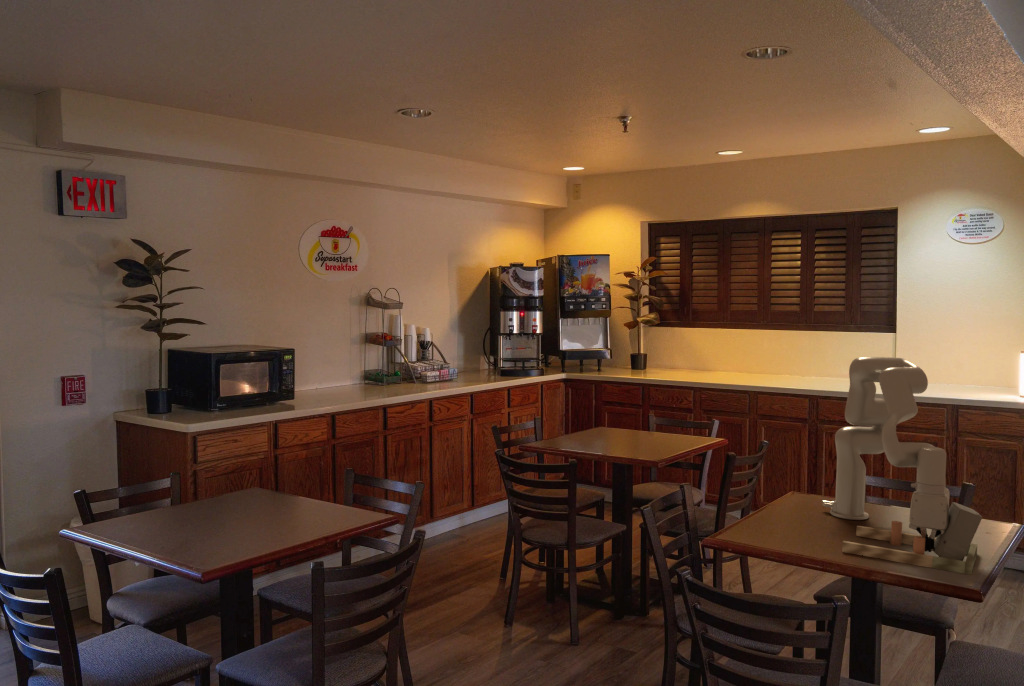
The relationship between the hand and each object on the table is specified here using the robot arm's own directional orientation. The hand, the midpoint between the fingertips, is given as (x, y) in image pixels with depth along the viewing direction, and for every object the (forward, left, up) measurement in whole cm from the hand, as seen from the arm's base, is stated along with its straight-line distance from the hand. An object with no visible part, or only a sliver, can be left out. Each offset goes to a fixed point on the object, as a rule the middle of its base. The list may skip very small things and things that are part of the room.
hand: (928, 550), depth 237 cm
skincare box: (+5, 0, -1) cm, 5 cm away
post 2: (-2, -7, -2) cm, 7 cm away
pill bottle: (-3, +47, -2) cm, 47 cm away
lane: (-6, +1, -2) cm, 6 cm away
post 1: (-10, +8, -2) cm, 13 cm away
